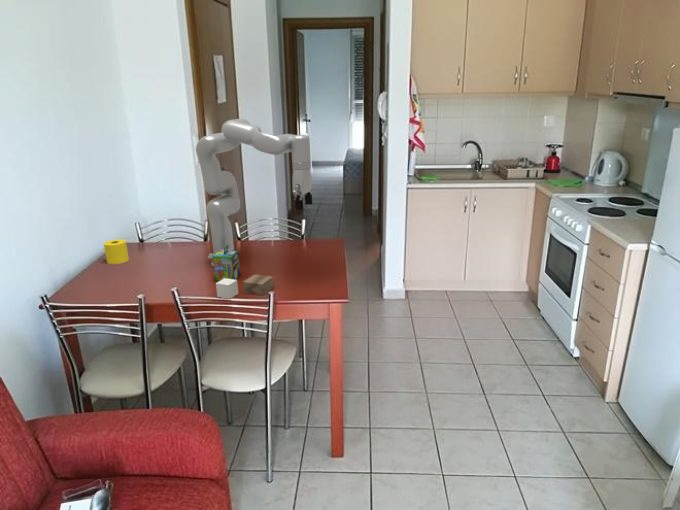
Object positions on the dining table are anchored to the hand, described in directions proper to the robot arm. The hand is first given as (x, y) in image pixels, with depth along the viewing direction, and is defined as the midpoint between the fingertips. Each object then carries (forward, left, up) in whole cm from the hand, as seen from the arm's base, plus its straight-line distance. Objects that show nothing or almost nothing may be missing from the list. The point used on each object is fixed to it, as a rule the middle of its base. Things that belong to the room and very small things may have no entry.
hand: (304, 206), depth 221 cm
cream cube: (-20, -31, -31) cm, 48 cm away
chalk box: (-32, -14, -31) cm, 47 cm away
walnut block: (-11, -22, -31) cm, 40 cm away
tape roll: (-98, -12, -31) cm, 104 cm away
